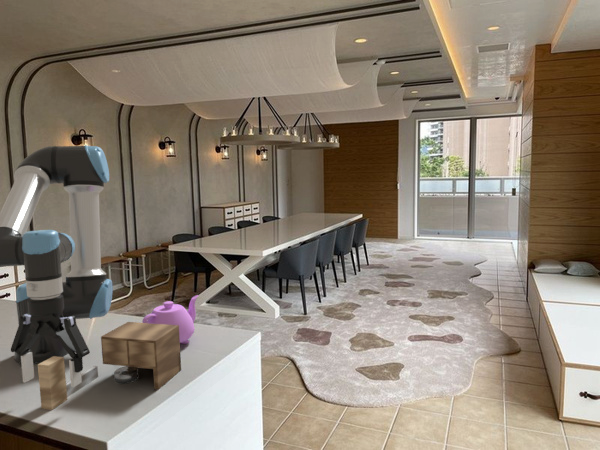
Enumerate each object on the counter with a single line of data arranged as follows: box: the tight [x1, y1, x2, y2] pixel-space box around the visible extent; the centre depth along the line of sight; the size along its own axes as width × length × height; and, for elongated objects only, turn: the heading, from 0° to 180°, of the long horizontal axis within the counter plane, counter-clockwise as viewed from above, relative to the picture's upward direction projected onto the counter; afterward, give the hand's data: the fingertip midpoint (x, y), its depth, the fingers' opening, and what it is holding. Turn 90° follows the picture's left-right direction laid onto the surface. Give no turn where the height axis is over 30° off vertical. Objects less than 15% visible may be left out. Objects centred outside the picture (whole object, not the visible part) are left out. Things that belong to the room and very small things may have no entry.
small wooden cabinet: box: [100, 321, 182, 391], centre depth 127 cm, size 16×12×13 cm
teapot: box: [141, 294, 199, 345], centre depth 152 cm, size 22×16×14 cm
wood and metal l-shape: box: [37, 356, 99, 411], centre depth 119 cm, size 18×3×11 cm, turn 166°
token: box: [113, 366, 139, 385], centre depth 127 cm, size 6×6×2 cm
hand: (52, 382), depth 112 cm, fingers open, 13 cm apart
